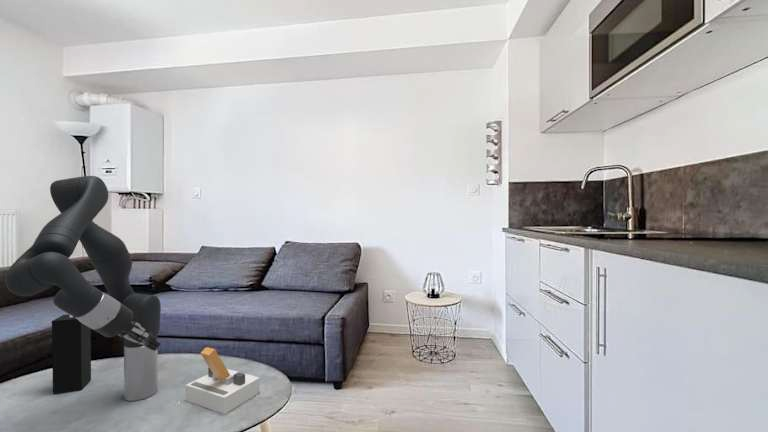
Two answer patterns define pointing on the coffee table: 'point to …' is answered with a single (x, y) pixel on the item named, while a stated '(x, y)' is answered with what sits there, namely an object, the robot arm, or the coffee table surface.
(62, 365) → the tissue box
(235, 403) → the white slotted plate
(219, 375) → the breaker handle
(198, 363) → the coffee table surface
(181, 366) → the coffee table surface
